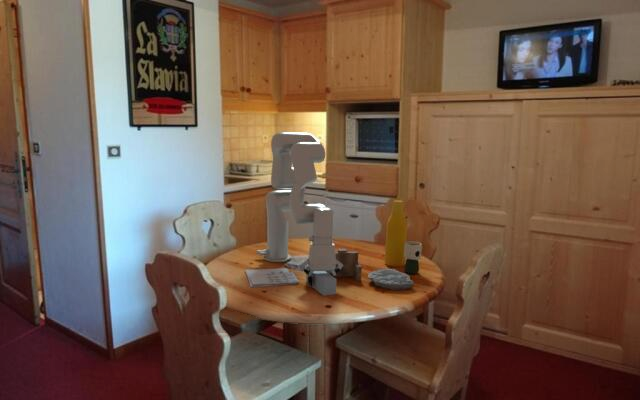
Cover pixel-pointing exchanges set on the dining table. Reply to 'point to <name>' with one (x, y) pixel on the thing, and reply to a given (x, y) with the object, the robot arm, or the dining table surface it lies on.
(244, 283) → the dining table surface
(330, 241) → the robot arm
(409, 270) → the character mug
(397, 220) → the yellow bottle
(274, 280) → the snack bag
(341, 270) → the notched brown block
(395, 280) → the flat grey rock
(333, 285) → the grey rectangular block
